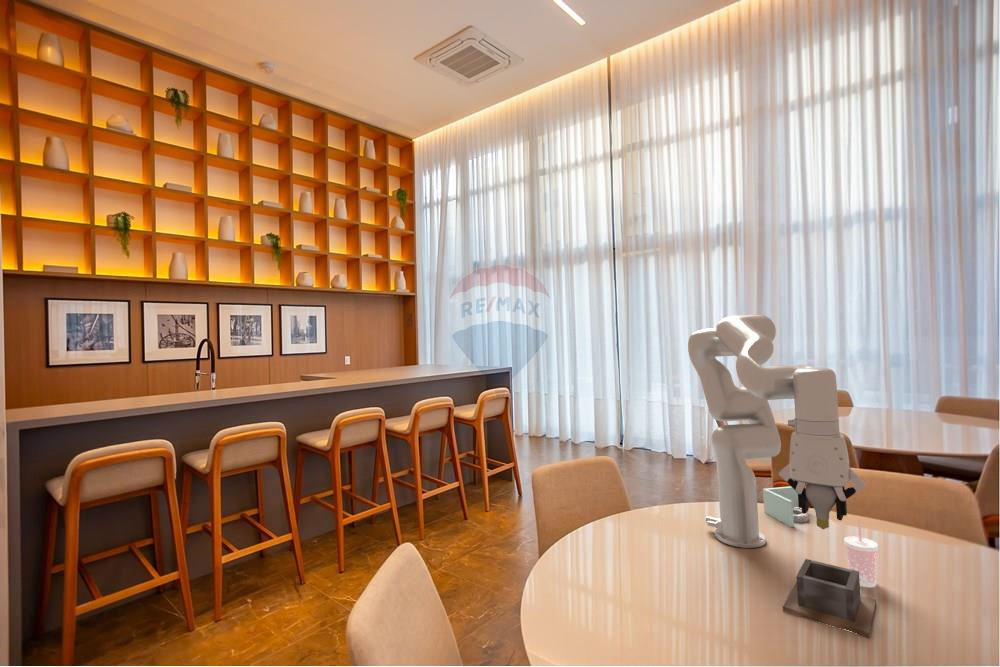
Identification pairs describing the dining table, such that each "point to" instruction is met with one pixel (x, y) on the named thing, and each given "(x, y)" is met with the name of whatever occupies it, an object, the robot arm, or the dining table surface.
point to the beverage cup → (862, 557)
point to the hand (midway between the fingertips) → (822, 514)
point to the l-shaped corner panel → (783, 505)
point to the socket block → (831, 598)
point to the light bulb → (821, 502)
